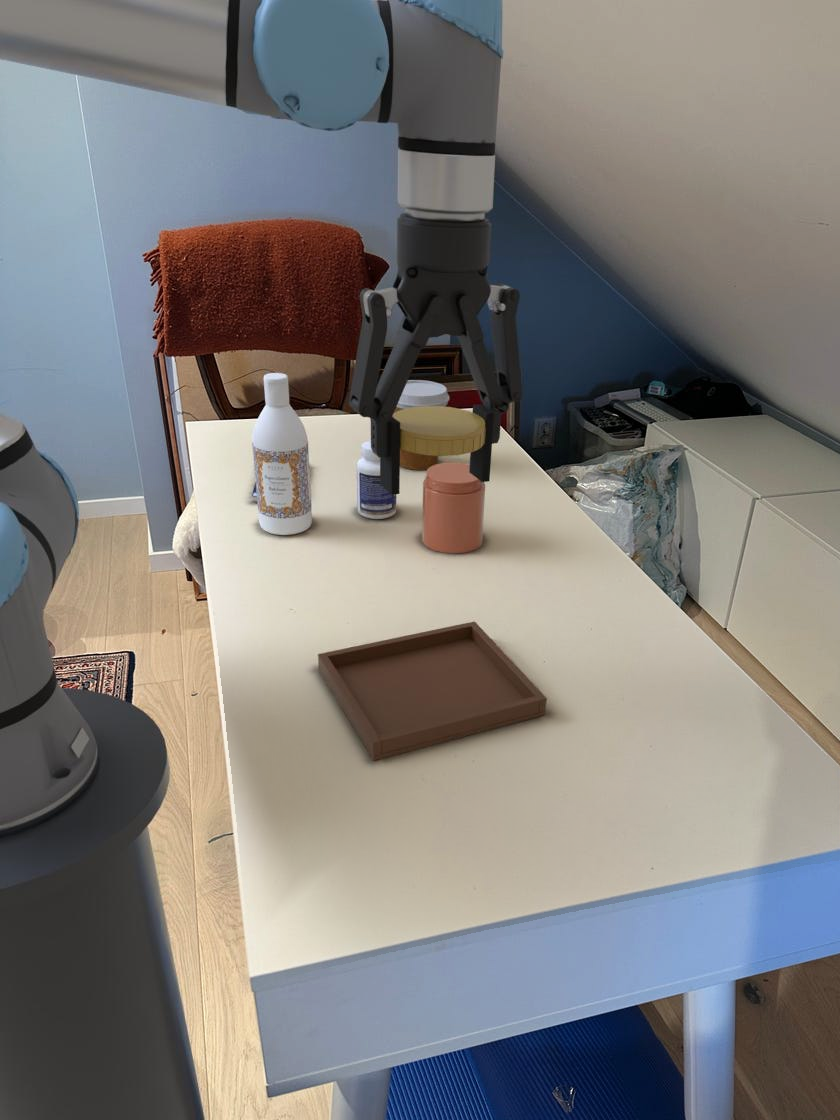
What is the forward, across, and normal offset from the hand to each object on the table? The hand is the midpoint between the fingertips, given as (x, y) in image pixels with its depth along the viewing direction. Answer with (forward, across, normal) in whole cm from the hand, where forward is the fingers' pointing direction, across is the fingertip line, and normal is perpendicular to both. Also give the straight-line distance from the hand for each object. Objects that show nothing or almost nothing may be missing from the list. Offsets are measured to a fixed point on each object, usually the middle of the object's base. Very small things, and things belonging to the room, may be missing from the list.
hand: (435, 482), depth 82 cm
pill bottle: (+20, -10, -38) cm, 44 cm away
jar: (+20, -15, -26) cm, 36 cm away
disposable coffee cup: (+20, -23, -54) cm, 62 cm away
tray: (+20, +2, +5) cm, 21 cm away
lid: (-5, 0, 0) cm, 5 cm away
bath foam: (+20, +4, -38) cm, 43 cm away
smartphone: (+20, 0, -53) cm, 57 cm away
